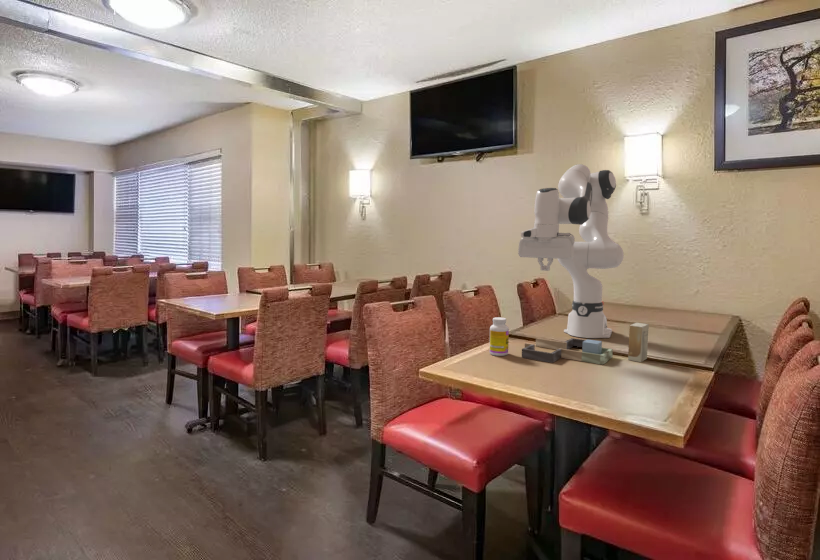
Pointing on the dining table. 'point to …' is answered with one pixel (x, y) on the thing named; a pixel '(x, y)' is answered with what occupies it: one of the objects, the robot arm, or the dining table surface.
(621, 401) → the dining table surface
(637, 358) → the skincare box
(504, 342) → the supplement bottle
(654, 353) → the dining table surface
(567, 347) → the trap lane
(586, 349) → the block
